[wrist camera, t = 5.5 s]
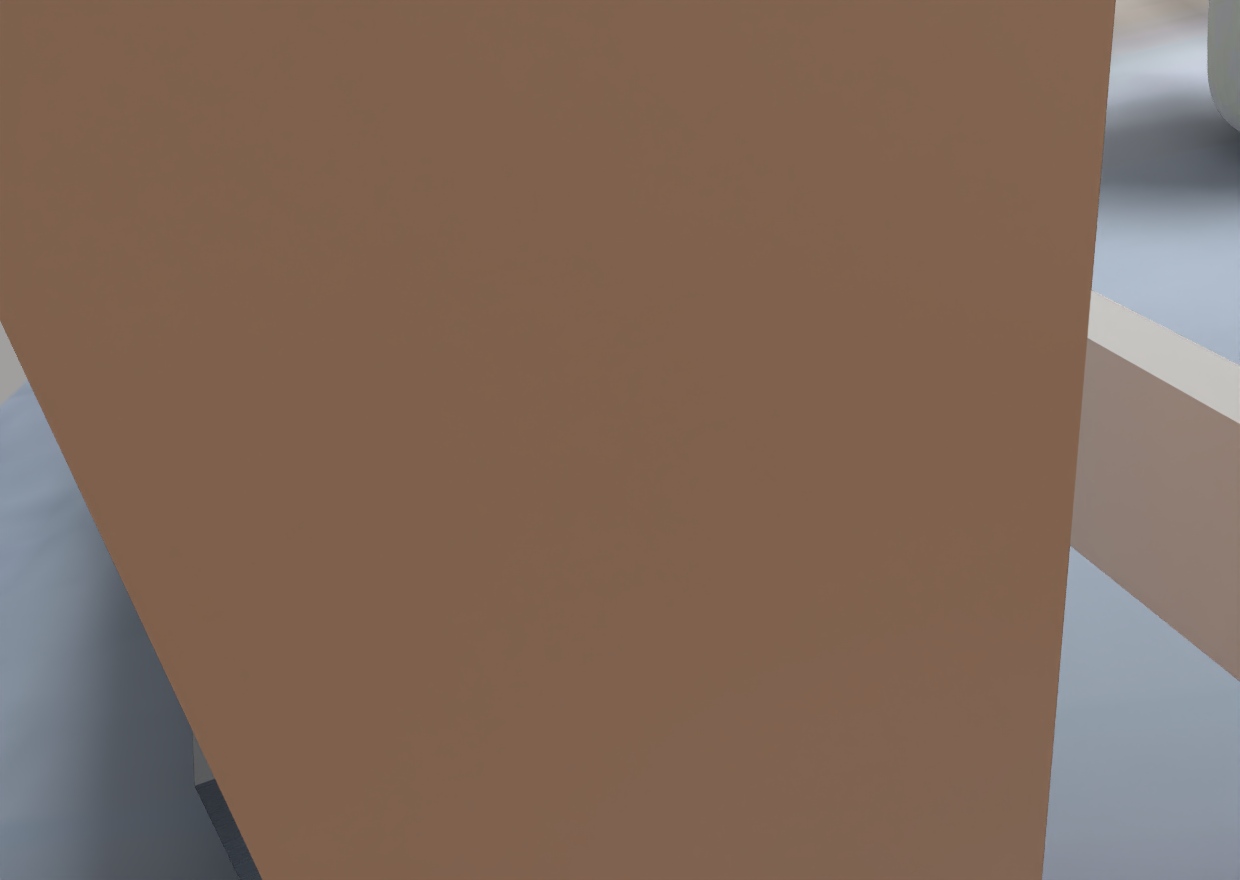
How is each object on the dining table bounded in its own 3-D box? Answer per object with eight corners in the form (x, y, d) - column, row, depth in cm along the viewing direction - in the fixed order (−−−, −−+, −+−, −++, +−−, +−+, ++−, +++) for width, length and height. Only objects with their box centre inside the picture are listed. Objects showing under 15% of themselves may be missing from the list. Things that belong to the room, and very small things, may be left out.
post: (803, 1042, 17) (681, -231, 8) (996, 1409, 13) (1136, -265, 4) (498, 1179, 16) (5, -113, 7) (611, 1623, 12) (-162, -26, 3)
